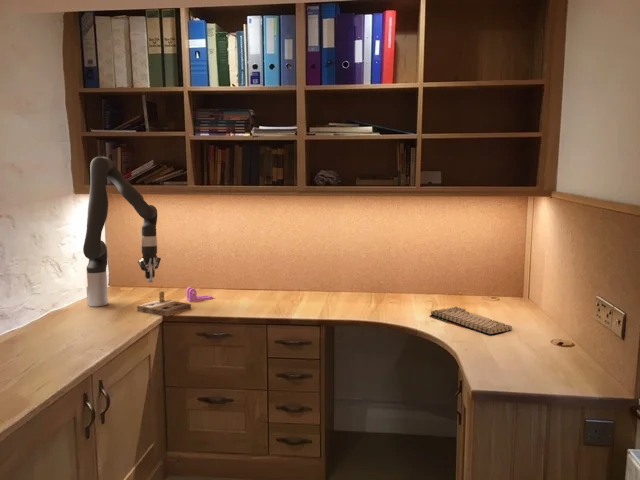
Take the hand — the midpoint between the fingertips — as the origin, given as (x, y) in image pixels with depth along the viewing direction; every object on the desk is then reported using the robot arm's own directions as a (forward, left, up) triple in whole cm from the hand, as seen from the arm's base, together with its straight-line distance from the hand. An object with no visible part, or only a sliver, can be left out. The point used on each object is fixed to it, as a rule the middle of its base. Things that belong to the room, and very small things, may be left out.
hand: (150, 277), depth 273 cm
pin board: (+14, -5, -14) cm, 20 cm away
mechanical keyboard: (+151, +48, -15) cm, 159 cm away
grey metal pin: (0, 0, -2) cm, 2 cm away
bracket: (+15, +20, -14) cm, 29 cm away
